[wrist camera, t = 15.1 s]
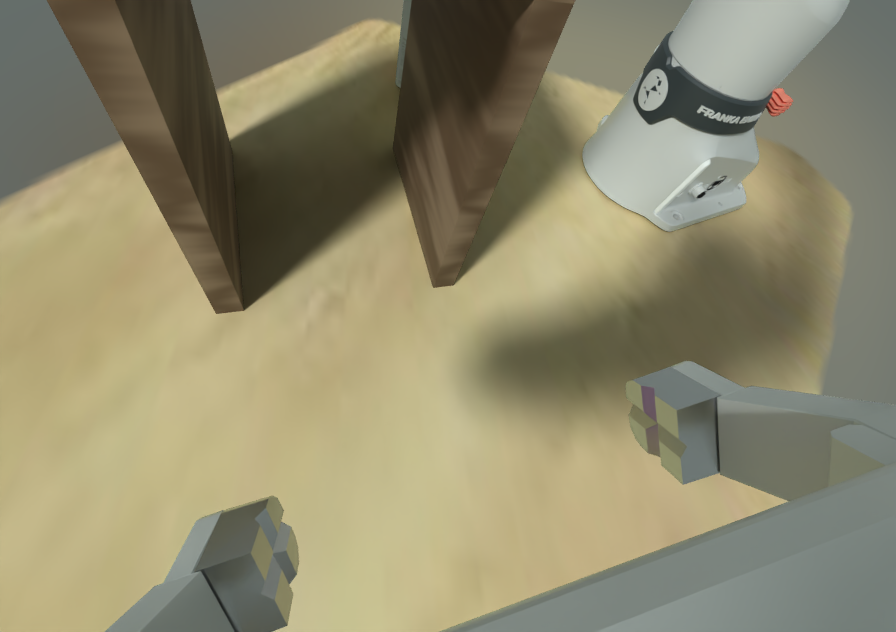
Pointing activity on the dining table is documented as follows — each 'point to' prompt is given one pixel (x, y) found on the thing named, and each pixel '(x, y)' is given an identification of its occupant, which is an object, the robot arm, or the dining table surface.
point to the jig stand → (416, 133)
